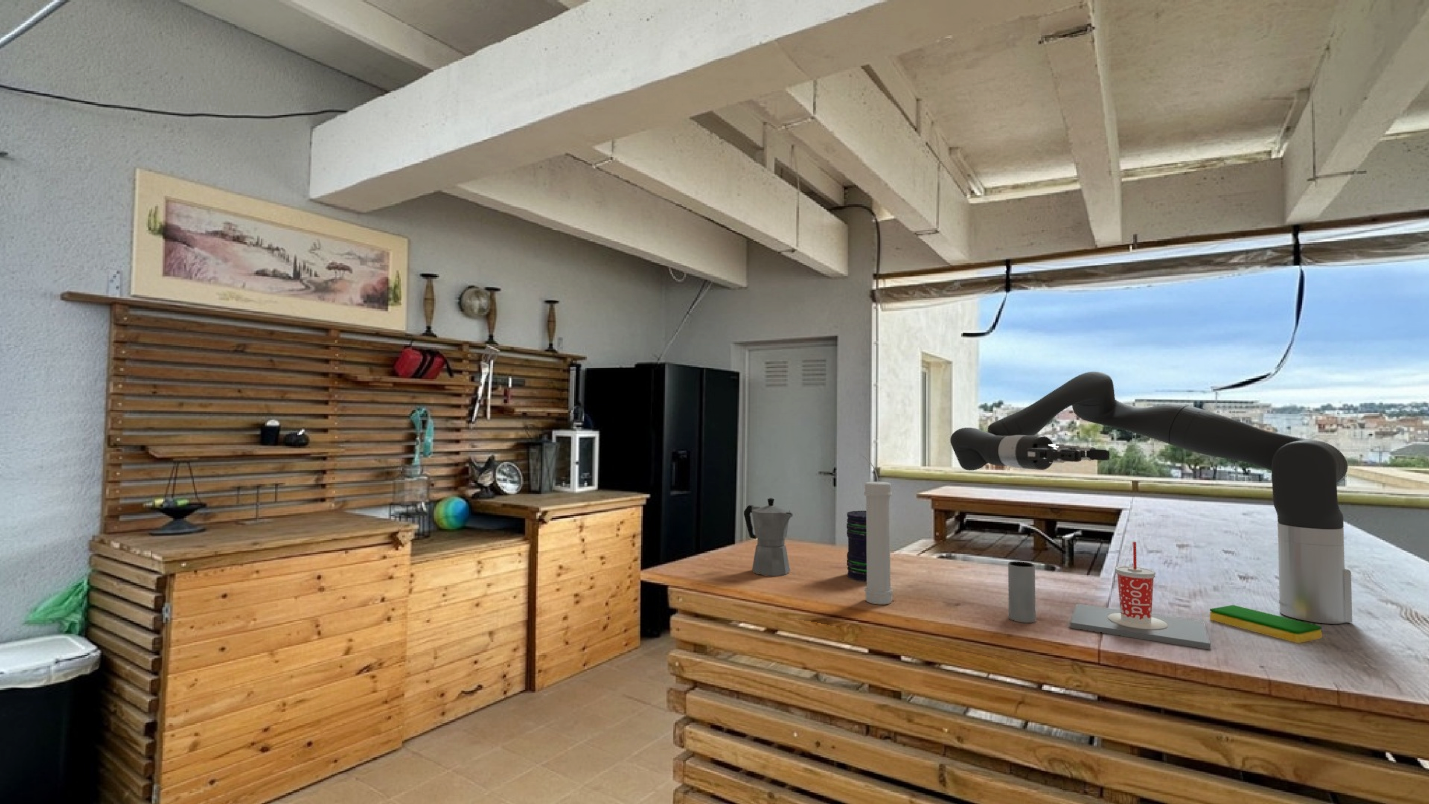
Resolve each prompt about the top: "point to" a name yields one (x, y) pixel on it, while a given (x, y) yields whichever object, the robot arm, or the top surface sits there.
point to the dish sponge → (1266, 623)
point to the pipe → (878, 541)
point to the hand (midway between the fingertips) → (1094, 455)
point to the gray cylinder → (1021, 591)
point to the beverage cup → (1135, 592)
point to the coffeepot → (769, 538)
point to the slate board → (1142, 626)
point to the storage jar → (857, 545)
